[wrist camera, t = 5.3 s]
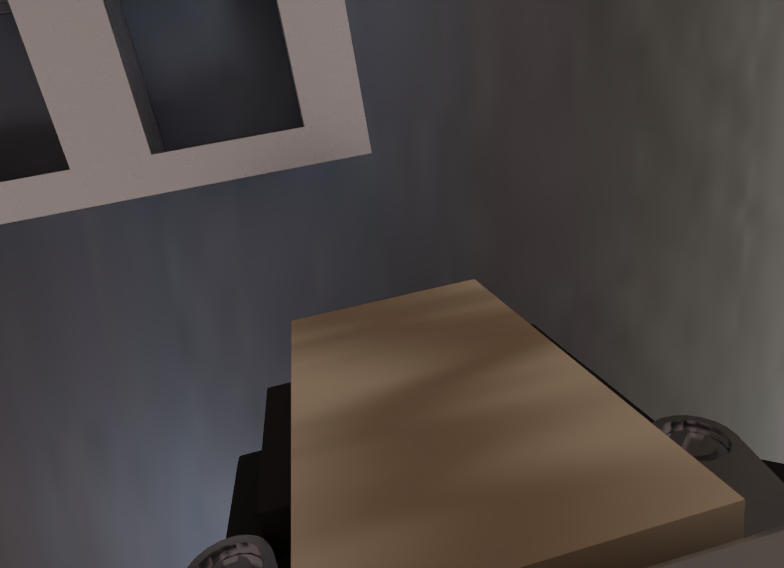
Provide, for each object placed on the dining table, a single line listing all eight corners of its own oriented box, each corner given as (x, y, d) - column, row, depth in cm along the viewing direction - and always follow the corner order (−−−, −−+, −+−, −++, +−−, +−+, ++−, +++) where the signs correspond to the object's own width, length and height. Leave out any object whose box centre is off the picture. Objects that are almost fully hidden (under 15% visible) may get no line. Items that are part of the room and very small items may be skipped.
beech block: (474, 279, 13) (744, 499, 5) (494, 434, 14) (730, 789, 6) (291, 320, 12) (290, 637, 5) (330, 478, 13) (381, 922, 6)
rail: (322, -75, 21) (326, -100, 19) (363, 150, 24) (371, 153, 22) (-231, -2, 18) (-305, -20, 16) (-109, 240, 21) (-158, 254, 19)
